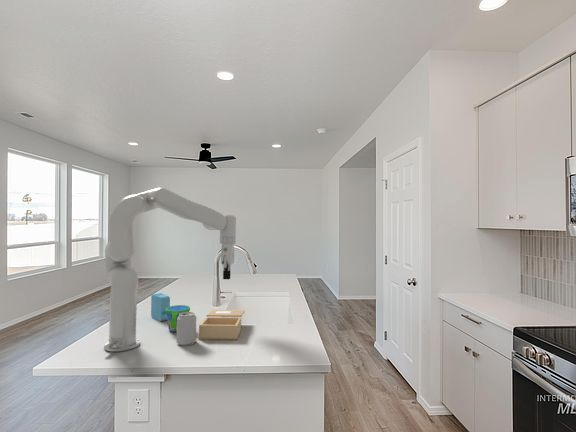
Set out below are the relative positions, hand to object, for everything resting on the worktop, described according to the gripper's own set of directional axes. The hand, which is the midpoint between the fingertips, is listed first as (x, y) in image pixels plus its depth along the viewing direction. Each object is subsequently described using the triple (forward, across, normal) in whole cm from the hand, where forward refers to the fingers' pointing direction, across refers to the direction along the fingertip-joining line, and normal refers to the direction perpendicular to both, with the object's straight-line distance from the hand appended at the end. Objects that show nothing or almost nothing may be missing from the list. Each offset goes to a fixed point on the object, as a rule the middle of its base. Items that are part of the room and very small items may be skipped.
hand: (226, 278), depth 157 cm
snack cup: (+23, -7, +21) cm, 31 cm away
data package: (+23, +11, +36) cm, 44 cm away
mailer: (+22, -13, 0) cm, 26 cm away
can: (+23, -23, +12) cm, 34 cm away
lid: (+16, 0, 0) cm, 16 cm away
